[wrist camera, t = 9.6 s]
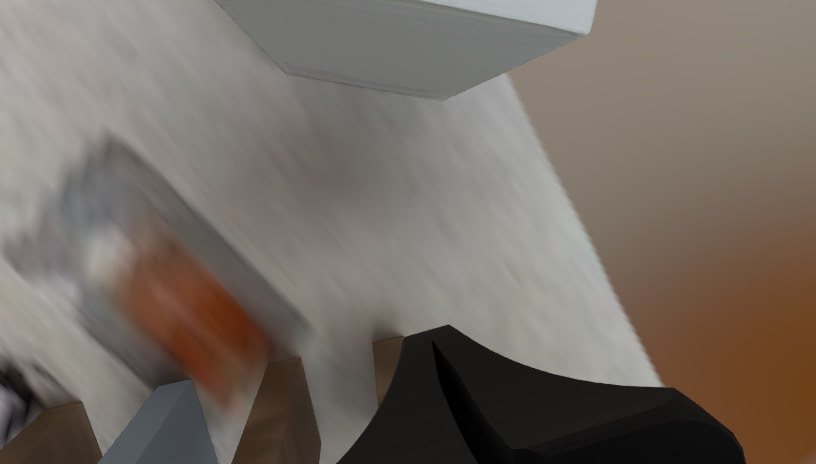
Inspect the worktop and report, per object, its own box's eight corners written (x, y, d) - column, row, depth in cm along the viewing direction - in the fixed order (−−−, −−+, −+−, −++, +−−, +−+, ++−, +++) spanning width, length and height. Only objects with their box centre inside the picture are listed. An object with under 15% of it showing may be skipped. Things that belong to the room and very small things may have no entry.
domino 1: (403, 336, 22) (436, 465, 13) (418, 421, 23) (458, 591, 15) (372, 342, 22) (385, 477, 13) (388, 427, 23) (411, 603, 14)
